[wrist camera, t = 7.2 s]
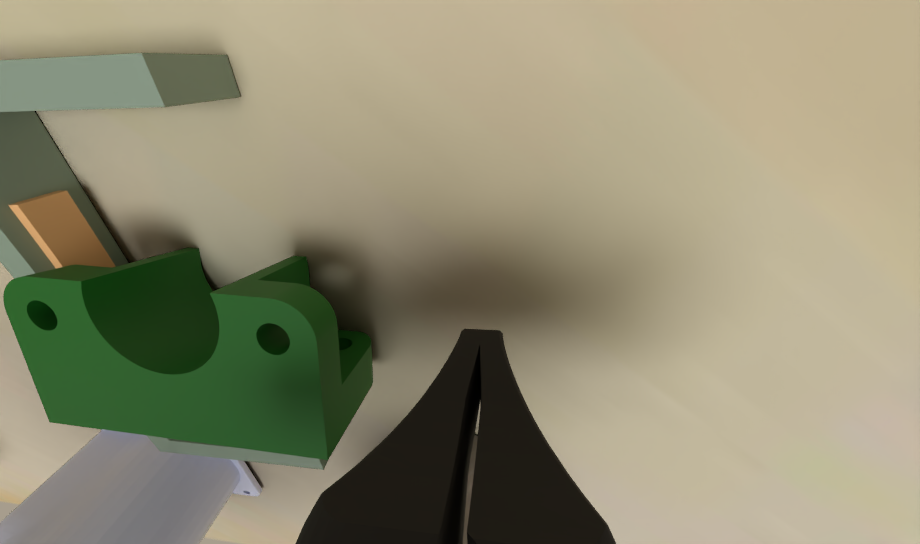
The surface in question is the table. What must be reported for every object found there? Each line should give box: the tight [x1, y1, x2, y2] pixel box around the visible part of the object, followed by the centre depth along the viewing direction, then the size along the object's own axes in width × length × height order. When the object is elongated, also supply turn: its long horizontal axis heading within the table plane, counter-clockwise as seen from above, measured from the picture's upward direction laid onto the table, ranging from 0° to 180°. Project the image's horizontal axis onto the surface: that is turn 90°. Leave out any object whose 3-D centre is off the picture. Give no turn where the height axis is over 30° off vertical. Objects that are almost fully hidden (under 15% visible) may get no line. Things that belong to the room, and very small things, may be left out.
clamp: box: [4, 248, 373, 460], centre depth 14 cm, size 12×6×9 cm, turn 83°
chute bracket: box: [0, 53, 328, 470], centre depth 15 cm, size 10×18×3 cm, turn 2°
